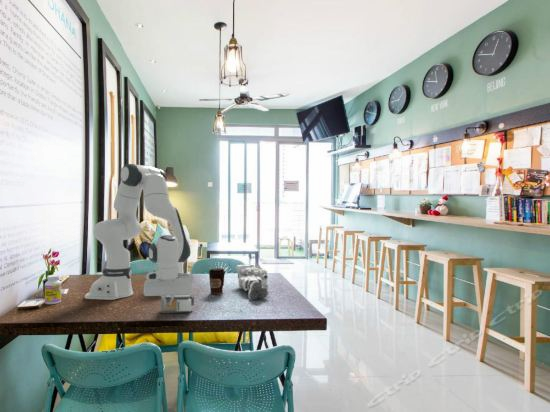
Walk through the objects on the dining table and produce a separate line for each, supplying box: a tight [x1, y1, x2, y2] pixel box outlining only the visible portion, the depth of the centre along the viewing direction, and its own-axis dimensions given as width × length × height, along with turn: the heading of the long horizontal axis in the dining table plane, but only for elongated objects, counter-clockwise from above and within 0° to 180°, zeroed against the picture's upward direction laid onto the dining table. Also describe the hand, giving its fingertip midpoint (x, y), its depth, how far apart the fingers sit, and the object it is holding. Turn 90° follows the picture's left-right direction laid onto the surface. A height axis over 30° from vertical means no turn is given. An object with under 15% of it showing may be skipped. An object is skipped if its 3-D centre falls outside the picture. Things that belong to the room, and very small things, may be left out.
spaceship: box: [235, 263, 269, 301], centre depth 193 cm, size 16×35×12 cm, turn 16°
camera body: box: [159, 294, 195, 314], centre depth 160 cm, size 14×8×7 cm, turn 95°
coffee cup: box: [208, 267, 226, 295], centre depth 190 cm, size 9×8×13 cm
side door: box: [177, 299, 192, 312], centre depth 156 cm, size 6×2×5 cm, turn 95°
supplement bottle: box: [44, 274, 62, 305], centre depth 170 cm, size 7×7×13 cm
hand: (168, 305), depth 155 cm, fingers closed
